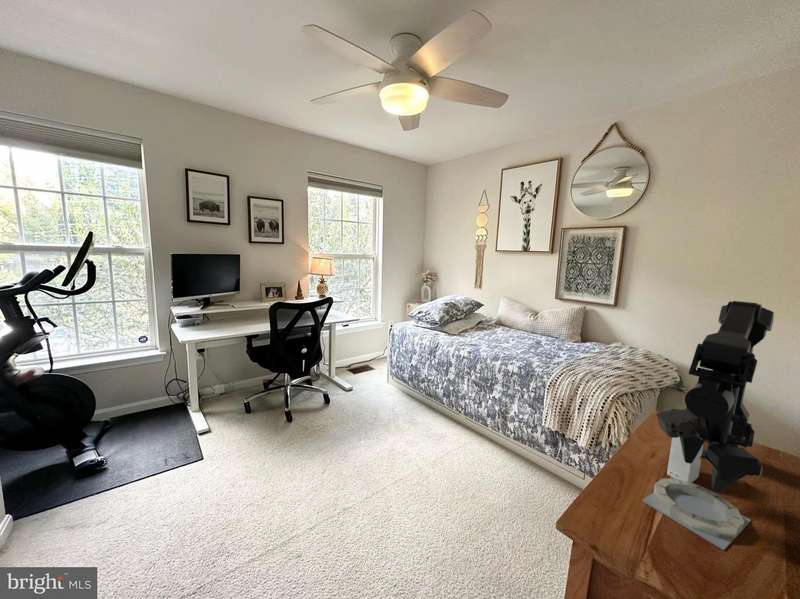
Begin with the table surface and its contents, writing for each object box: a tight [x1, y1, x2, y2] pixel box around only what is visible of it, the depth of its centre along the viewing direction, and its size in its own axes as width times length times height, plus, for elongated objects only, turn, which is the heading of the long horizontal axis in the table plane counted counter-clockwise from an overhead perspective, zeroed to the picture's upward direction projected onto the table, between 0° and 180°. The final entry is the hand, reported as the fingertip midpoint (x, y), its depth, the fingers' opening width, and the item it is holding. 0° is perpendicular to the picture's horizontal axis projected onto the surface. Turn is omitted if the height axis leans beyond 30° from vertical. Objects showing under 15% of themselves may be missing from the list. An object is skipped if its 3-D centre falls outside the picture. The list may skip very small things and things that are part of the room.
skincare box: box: [666, 437, 705, 483], centre depth 77 cm, size 6×4×12 cm
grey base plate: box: [641, 491, 751, 551], centre depth 67 cm, size 14×13×1 cm
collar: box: [653, 478, 744, 539], centre depth 67 cm, size 13×13×2 cm
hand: (700, 476), depth 66 cm, fingers open, 9 cm apart
